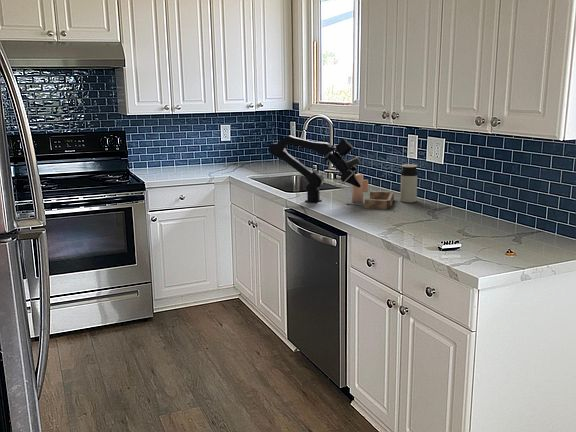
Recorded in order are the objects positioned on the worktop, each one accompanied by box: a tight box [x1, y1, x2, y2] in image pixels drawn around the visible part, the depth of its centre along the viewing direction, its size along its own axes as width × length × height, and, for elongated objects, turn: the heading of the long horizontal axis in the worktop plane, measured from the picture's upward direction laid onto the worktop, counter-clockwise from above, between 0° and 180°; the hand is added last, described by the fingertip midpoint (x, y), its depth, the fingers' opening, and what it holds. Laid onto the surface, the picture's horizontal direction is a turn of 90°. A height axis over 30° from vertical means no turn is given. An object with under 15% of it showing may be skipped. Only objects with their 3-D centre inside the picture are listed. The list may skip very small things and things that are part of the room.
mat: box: [346, 199, 365, 206], centre depth 280 cm, size 10×10×1 cm
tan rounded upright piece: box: [351, 173, 369, 203], centre depth 279 cm, size 8×6×14 cm
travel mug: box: [399, 163, 419, 204], centre depth 280 cm, size 8×8×18 cm
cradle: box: [364, 190, 395, 210], centre depth 277 cm, size 12×23×4 cm, turn 165°
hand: (361, 185), depth 278 cm, fingers open, 6 cm apart
